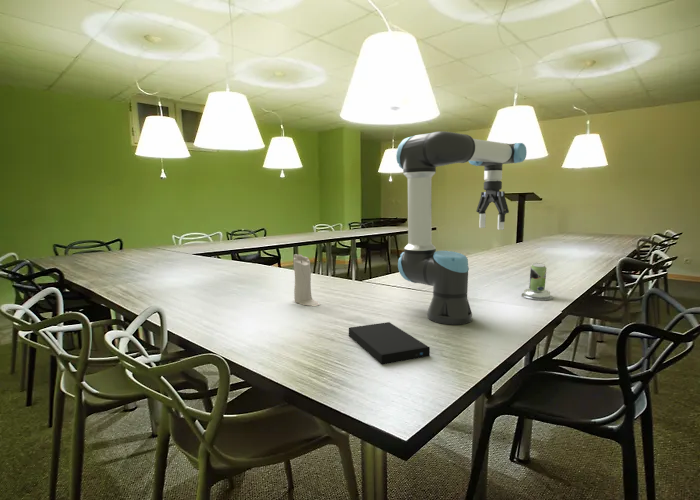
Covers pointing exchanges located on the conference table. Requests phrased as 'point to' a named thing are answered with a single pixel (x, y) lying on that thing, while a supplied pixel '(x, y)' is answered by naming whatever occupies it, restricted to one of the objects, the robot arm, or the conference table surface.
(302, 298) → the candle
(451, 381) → the conference table surface
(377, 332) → the external hard drive
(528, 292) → the bowl
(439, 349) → the conference table surface
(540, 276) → the beverage can
